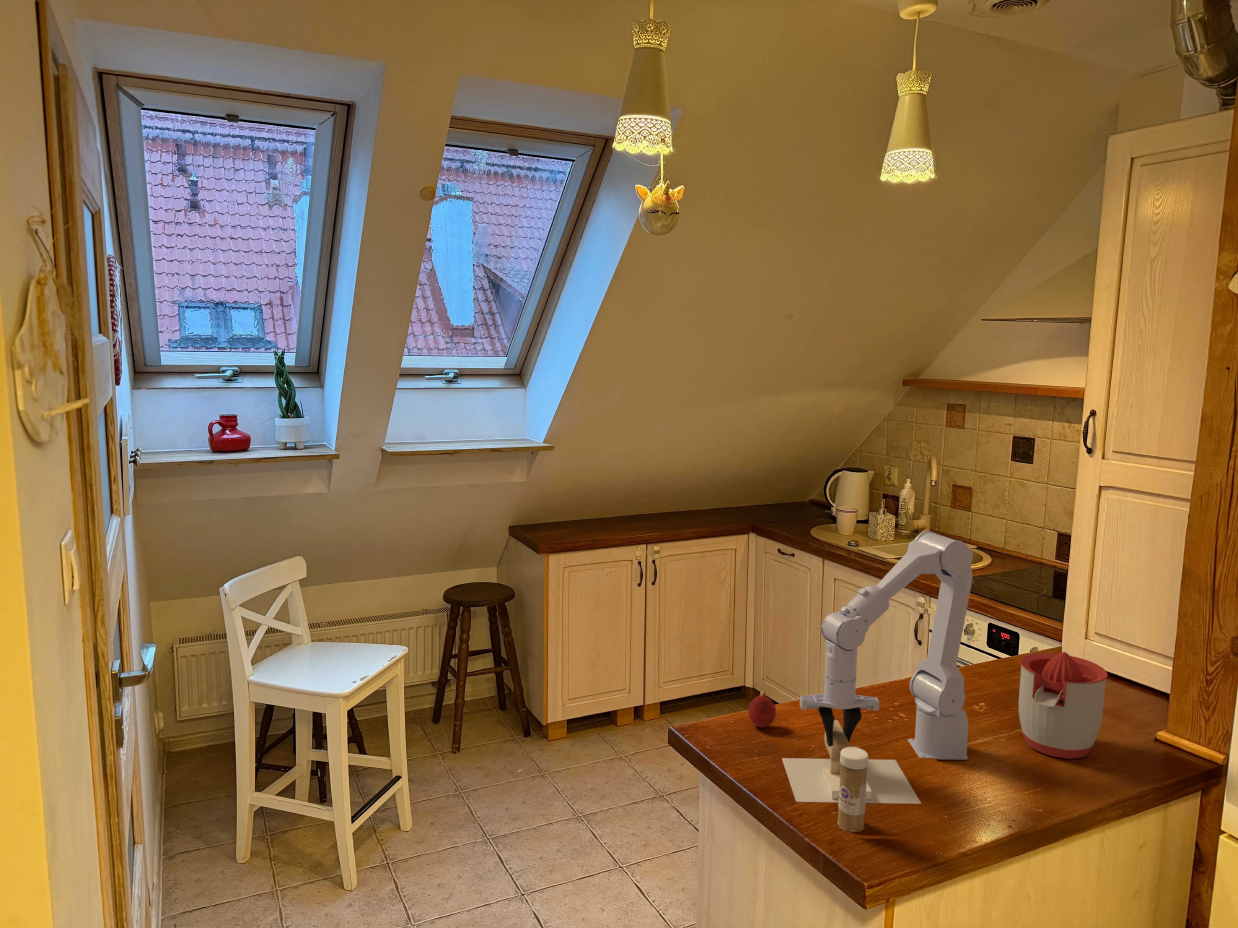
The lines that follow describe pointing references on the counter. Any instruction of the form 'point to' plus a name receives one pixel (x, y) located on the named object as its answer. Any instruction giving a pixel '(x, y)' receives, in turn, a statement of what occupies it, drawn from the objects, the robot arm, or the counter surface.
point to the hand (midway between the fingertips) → (837, 744)
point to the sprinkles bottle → (852, 789)
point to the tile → (838, 784)
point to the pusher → (837, 747)
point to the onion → (762, 711)
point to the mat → (880, 778)
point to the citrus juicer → (1061, 703)
